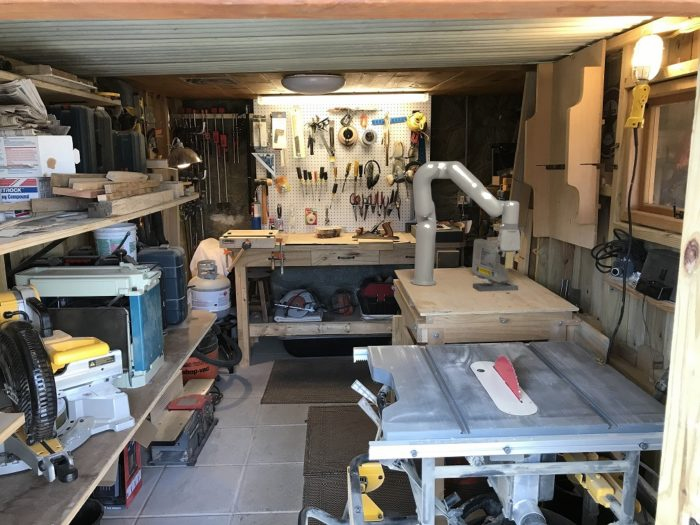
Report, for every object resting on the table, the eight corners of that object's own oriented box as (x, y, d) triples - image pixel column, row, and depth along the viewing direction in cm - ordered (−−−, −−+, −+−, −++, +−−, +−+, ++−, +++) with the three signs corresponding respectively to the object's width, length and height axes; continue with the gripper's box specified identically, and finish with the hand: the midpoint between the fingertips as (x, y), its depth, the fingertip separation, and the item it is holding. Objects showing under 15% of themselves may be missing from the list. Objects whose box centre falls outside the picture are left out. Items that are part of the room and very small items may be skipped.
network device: (510, 285, 273) (514, 246, 269) (496, 286, 270) (499, 246, 266) (480, 274, 297) (483, 238, 293) (467, 275, 293) (469, 238, 289)
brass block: (501, 266, 266) (502, 250, 265) (508, 266, 267) (509, 250, 266) (505, 268, 262) (506, 252, 261) (512, 268, 263) (513, 251, 262)
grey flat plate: (472, 287, 268) (472, 283, 267) (509, 286, 272) (510, 282, 272) (479, 291, 260) (480, 287, 260) (517, 290, 264) (518, 286, 264)
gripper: (497, 228, 256) (494, 266, 259) (529, 227, 259) (526, 265, 263) (489, 226, 263) (487, 263, 266) (521, 225, 267) (518, 262, 270)
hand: (506, 264), depth 265 cm, fingers closed on brass block, 4 cm apart
